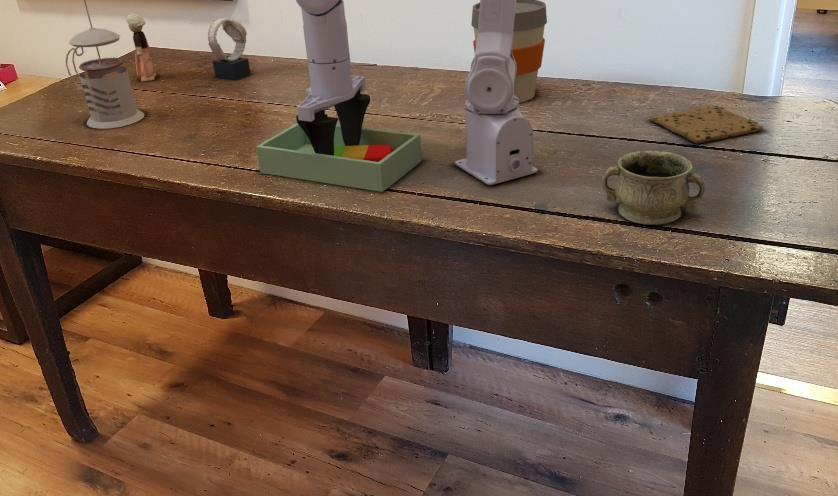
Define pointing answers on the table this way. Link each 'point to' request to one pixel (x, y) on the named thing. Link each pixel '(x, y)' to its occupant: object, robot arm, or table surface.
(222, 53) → the watch
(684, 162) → the vessel
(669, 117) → the cookie
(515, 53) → the reusable coffee cup
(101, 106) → the french press
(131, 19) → the grandmother figurine
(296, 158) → the tote
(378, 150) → the popsicle
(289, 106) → the table surface
